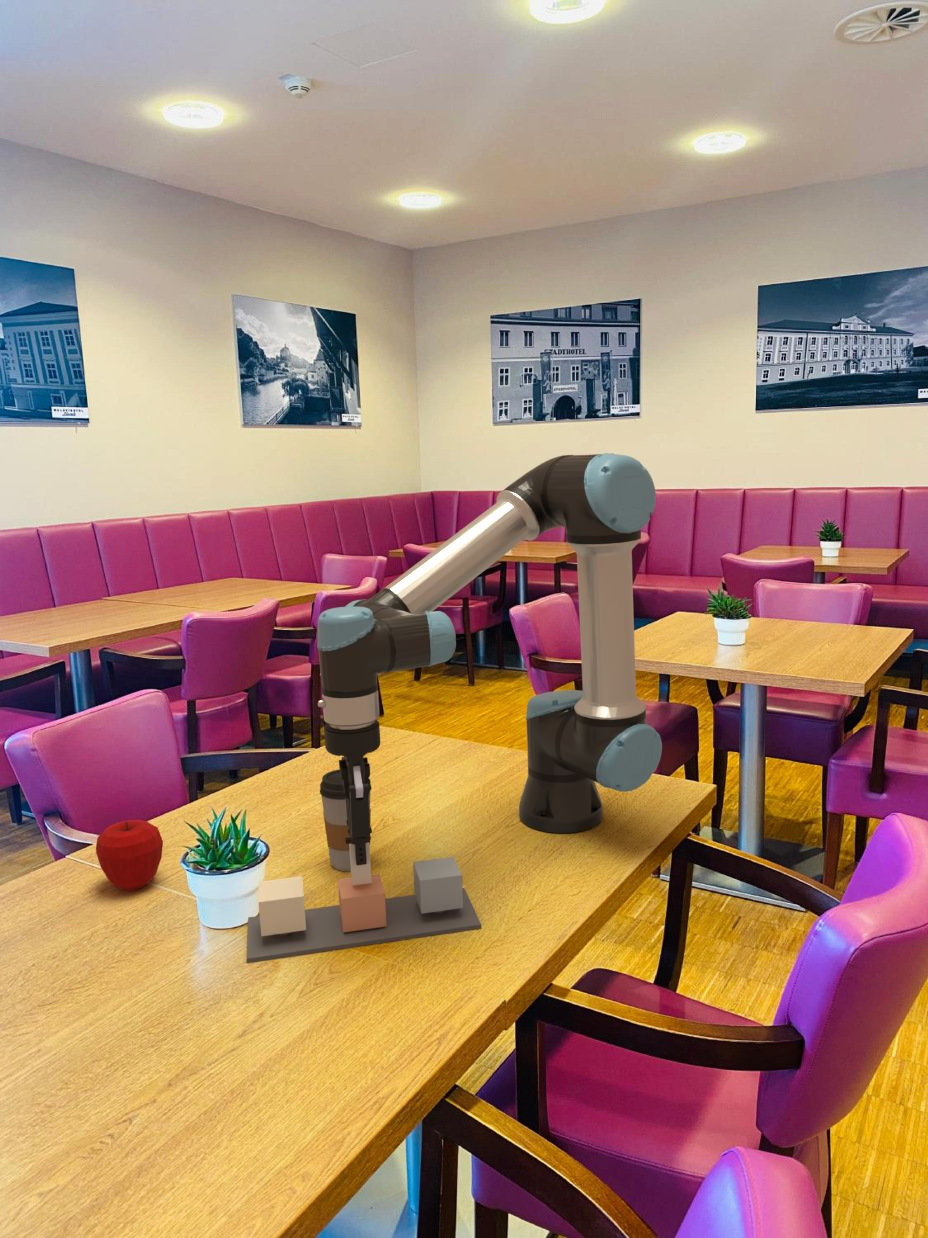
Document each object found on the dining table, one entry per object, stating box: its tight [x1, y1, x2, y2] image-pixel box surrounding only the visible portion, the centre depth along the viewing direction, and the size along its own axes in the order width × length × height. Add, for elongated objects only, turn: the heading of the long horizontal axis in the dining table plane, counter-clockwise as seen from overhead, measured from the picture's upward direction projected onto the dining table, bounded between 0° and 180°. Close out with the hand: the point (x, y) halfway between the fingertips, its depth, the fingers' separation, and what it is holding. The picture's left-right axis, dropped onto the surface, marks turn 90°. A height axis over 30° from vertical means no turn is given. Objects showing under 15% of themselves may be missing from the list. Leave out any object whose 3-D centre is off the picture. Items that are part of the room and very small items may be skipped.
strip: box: [246, 887, 482, 964], centre depth 125 cm, size 32×11×2 cm, turn 103°
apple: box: [95, 819, 164, 892], centre depth 138 cm, size 10×10×11 cm
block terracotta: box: [337, 873, 386, 932], centre depth 125 cm, size 6×6×5 cm
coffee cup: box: [319, 768, 372, 872], centre depth 143 cm, size 8×8×15 cm
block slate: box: [412, 856, 463, 914], centre depth 127 cm, size 6×6×5 cm
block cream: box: [258, 875, 306, 936], centre depth 122 cm, size 6×6×5 cm
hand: (361, 881), depth 124 cm, fingers closed
